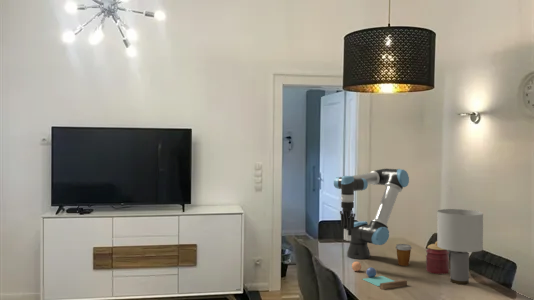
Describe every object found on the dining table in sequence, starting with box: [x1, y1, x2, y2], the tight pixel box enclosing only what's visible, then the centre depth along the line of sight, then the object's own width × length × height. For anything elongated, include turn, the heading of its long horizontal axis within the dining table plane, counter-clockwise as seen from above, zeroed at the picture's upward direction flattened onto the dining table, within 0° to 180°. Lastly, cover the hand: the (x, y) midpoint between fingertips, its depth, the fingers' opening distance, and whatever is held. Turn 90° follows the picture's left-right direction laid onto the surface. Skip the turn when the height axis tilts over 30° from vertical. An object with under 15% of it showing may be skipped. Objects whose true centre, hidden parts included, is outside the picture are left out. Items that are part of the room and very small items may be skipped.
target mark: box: [362, 275, 395, 287], centre depth 249 cm, size 14×14×1 cm
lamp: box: [436, 208, 484, 286], centre depth 247 cm, size 23×23×38 cm
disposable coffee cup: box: [395, 243, 412, 267], centre depth 283 cm, size 10×10×12 cm
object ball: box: [365, 266, 377, 278], centre depth 256 cm, size 6×6×6 cm
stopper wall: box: [379, 279, 408, 290], centre depth 239 cm, size 2×16×2 cm, turn 114°
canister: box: [425, 241, 450, 275], centre depth 268 cm, size 13×13×18 cm
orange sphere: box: [351, 261, 362, 272], centre depth 269 cm, size 6×6×6 cm
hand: (347, 240), depth 277 cm, fingers open, 2 cm apart
